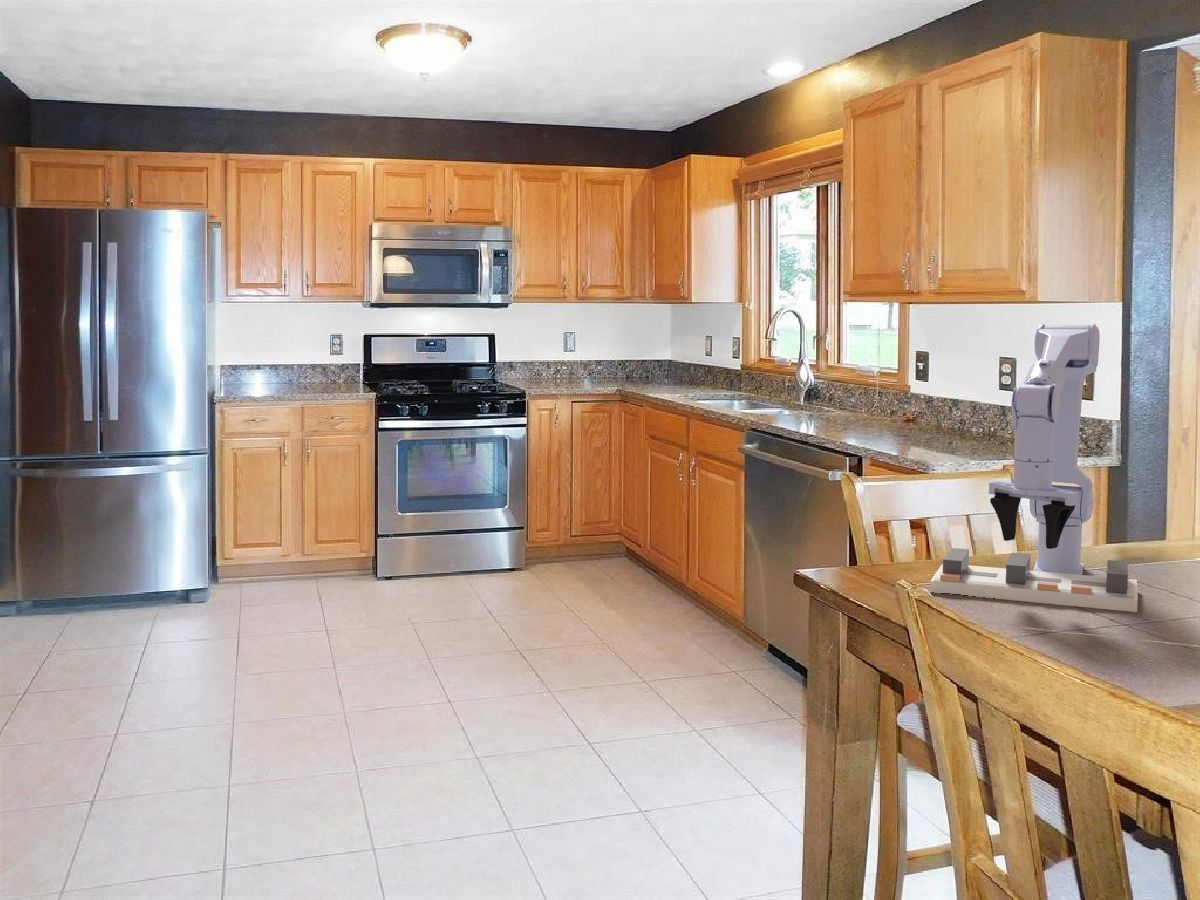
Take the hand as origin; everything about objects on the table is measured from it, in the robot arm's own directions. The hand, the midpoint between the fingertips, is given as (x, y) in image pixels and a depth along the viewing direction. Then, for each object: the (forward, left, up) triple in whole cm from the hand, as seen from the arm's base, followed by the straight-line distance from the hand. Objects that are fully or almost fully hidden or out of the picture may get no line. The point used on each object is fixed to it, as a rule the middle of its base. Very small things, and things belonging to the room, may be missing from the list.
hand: (1030, 543), depth 178 cm
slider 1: (-7, -12, -7) cm, 16 cm away
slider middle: (-7, -2, -7) cm, 10 cm away
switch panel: (-6, 0, -9) cm, 11 cm away
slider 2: (-7, +13, -7) cm, 16 cm away
